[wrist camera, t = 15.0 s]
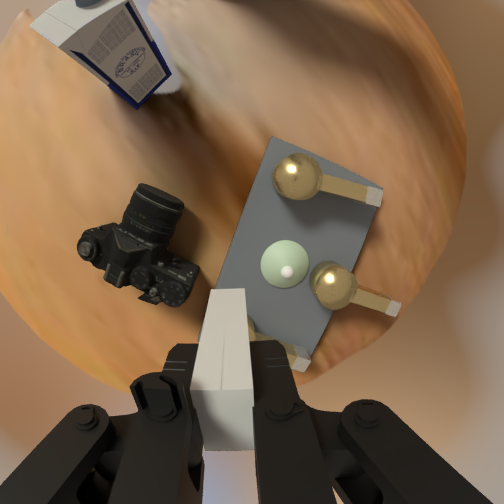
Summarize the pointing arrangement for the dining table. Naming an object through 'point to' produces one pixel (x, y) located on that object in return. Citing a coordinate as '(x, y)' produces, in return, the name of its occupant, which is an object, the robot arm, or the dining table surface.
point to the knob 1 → (295, 353)
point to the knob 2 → (317, 182)
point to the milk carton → (107, 44)
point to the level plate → (292, 249)
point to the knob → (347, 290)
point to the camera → (142, 249)
